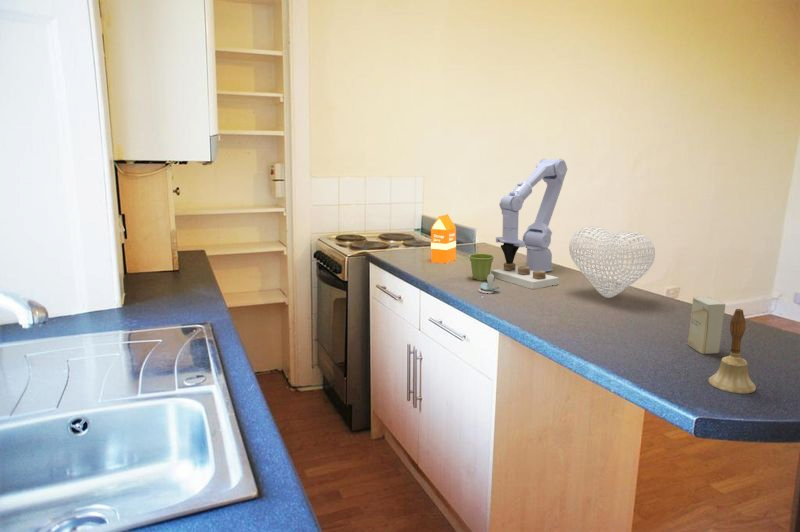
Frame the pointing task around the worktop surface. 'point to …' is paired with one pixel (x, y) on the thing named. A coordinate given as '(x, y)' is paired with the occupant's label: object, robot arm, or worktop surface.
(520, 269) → the knob middle
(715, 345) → the skincare box
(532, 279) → the mount plate
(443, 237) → the orange juice
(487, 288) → the pacifier
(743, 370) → the hand bell
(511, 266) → the knob
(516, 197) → the robot arm
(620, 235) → the heart
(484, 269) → the plant pot
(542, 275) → the knob
